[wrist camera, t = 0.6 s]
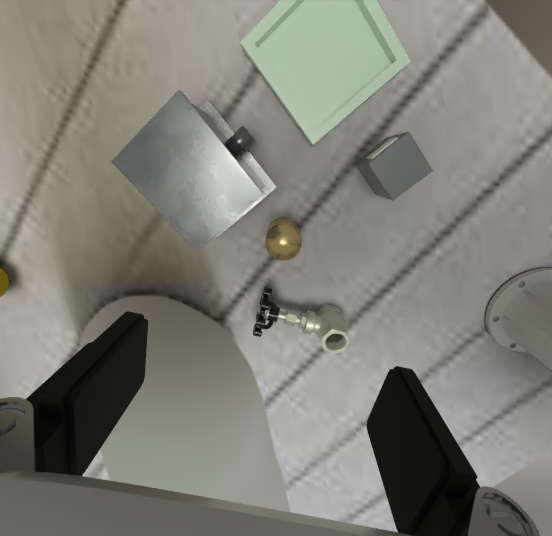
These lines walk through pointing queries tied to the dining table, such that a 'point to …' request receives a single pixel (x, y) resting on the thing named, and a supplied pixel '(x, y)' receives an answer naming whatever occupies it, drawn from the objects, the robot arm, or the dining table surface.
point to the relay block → (394, 166)
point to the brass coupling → (283, 239)
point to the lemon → (3, 282)
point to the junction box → (194, 169)
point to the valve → (307, 323)
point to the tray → (324, 58)
